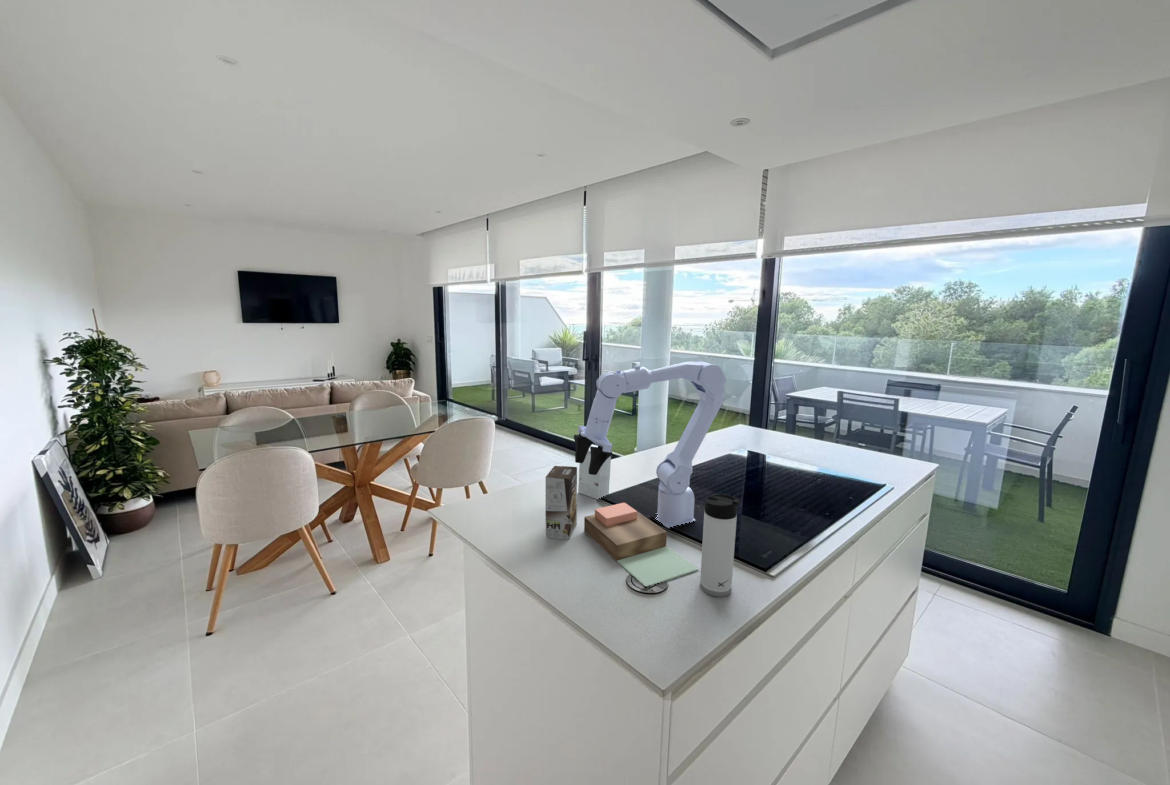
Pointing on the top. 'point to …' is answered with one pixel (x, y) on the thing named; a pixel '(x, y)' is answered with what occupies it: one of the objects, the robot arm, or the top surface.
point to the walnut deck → (626, 536)
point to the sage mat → (657, 566)
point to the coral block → (615, 514)
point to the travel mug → (718, 544)
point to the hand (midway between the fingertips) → (585, 468)
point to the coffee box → (561, 502)
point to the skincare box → (594, 478)
